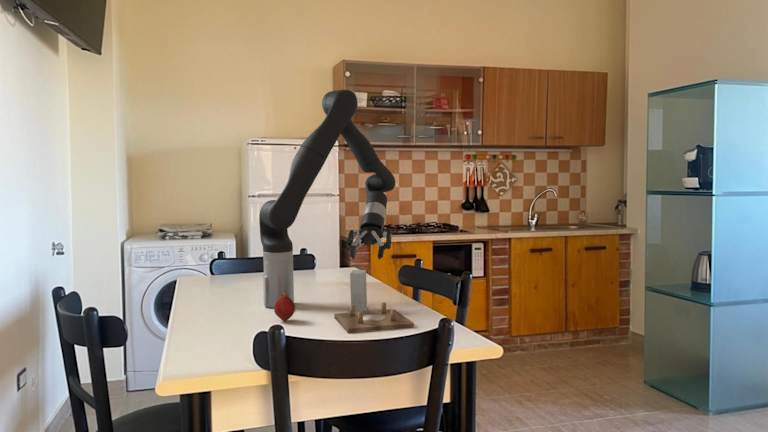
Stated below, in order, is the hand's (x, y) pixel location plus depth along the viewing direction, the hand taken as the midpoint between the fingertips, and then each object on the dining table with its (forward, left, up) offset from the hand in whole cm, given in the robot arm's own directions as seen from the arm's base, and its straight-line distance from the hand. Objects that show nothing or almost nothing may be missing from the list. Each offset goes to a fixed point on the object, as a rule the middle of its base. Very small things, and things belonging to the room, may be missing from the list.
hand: (366, 257), depth 196 cm
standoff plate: (-5, -25, -15) cm, 29 cm away
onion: (-28, -15, -15) cm, 35 cm away
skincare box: (-5, -9, -15) cm, 18 cm away
